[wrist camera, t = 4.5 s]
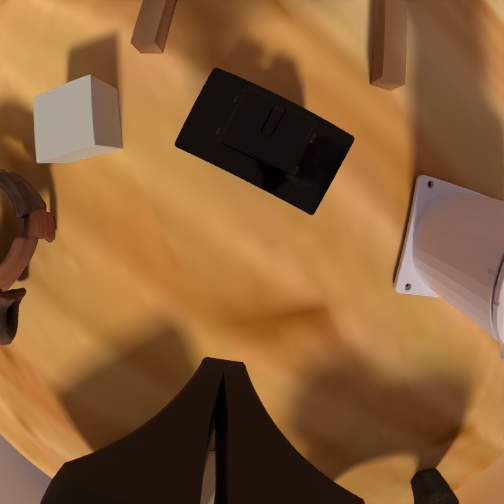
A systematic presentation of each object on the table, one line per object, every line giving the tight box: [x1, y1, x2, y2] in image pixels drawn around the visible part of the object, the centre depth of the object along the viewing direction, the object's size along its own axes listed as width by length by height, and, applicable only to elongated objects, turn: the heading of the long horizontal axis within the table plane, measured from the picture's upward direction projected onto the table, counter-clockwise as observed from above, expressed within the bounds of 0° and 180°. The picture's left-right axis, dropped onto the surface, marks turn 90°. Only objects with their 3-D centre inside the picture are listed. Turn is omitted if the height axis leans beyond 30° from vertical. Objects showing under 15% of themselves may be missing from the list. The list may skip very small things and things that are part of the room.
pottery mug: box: [0, 169, 55, 345], centre depth 17 cm, size 12×10×8 cm
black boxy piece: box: [175, 68, 354, 215], centre depth 16 cm, size 12×7×5 cm, turn 63°
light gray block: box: [34, 74, 123, 163], centre depth 15 cm, size 4×4×4 cm
